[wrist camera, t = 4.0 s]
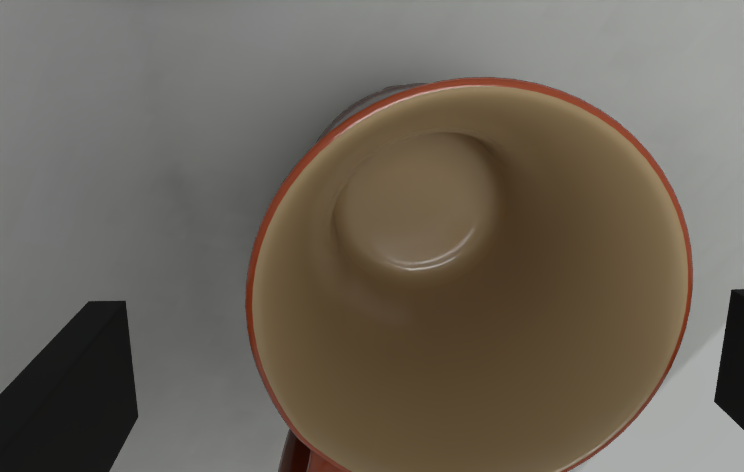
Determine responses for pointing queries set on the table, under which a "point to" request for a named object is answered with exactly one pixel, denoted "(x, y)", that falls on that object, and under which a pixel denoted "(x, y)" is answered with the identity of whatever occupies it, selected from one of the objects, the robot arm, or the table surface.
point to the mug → (467, 283)
